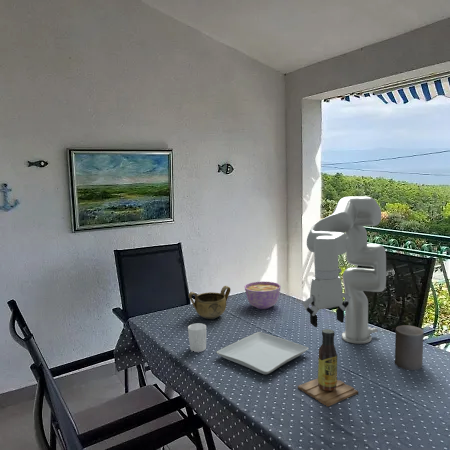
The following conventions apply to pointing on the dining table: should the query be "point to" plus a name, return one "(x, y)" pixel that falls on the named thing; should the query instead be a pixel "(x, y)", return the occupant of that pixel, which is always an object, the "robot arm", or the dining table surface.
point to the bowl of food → (262, 294)
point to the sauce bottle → (327, 362)
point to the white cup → (197, 337)
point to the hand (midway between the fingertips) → (327, 323)
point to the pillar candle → (409, 347)
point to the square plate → (262, 352)
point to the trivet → (328, 392)
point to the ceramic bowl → (210, 303)
